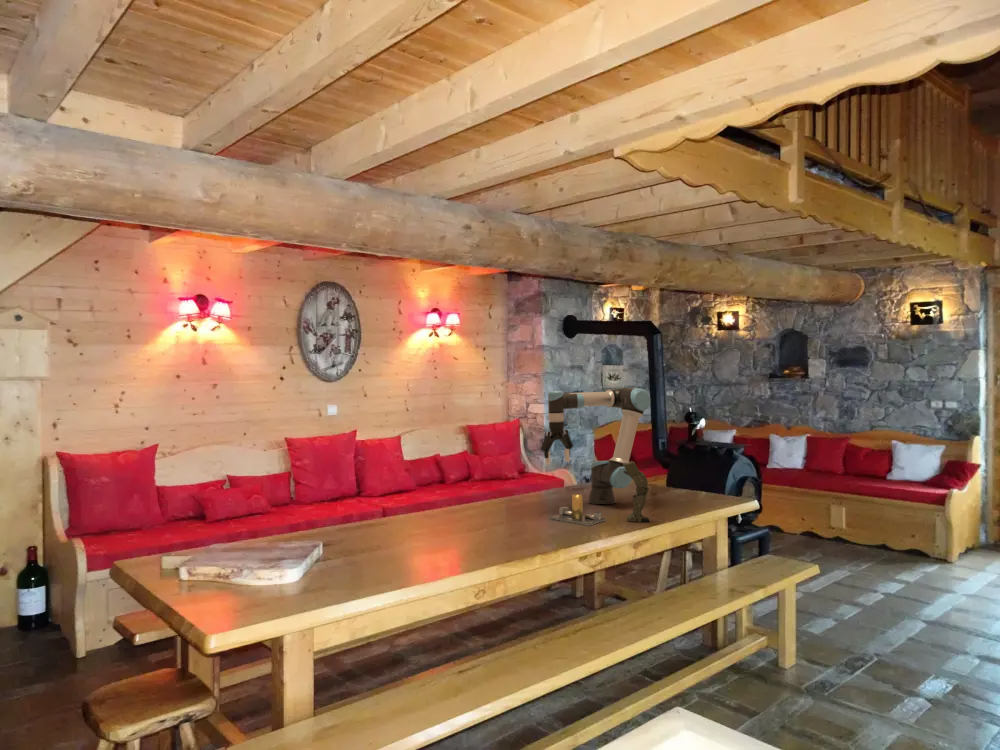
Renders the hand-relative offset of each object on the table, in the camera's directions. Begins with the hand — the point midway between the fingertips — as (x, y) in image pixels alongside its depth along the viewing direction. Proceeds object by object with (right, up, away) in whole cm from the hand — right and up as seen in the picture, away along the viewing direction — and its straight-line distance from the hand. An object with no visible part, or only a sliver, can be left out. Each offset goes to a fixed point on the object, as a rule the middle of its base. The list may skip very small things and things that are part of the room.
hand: (557, 463), depth 361 cm
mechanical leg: (+36, -26, -18) cm, 48 cm away
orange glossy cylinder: (+8, -24, -17) cm, 31 cm away
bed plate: (+8, -26, -17) cm, 32 cm away
